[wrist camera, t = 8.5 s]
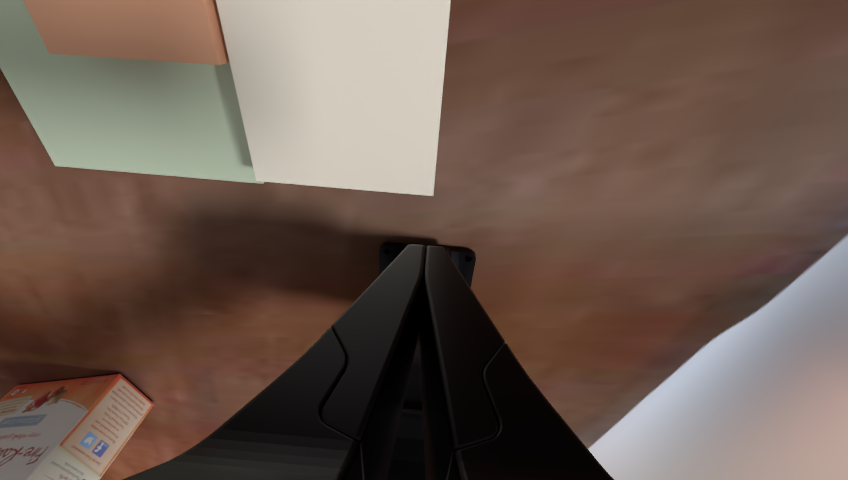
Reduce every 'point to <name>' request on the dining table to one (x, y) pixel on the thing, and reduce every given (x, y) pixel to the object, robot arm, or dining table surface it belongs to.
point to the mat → (125, 108)
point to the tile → (132, 29)
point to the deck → (340, 89)
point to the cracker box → (67, 427)
